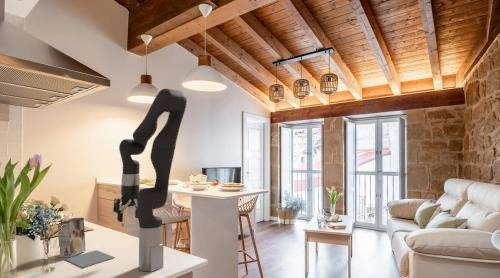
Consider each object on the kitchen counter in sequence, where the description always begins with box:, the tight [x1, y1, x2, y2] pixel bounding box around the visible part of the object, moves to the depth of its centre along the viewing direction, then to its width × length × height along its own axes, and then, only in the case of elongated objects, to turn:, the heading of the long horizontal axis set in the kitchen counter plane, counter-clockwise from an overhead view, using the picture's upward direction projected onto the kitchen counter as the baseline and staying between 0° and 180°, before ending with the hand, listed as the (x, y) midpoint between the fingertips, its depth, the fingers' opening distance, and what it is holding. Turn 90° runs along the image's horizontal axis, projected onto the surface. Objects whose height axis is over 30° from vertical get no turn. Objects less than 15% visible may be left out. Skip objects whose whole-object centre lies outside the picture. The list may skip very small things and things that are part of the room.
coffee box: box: [57, 217, 87, 259], centre depth 138 cm, size 9×6×16 cm
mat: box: [64, 249, 115, 269], centre depth 133 cm, size 16×14×1 cm
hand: (129, 219), depth 132 cm, fingers open, 8 cm apart
